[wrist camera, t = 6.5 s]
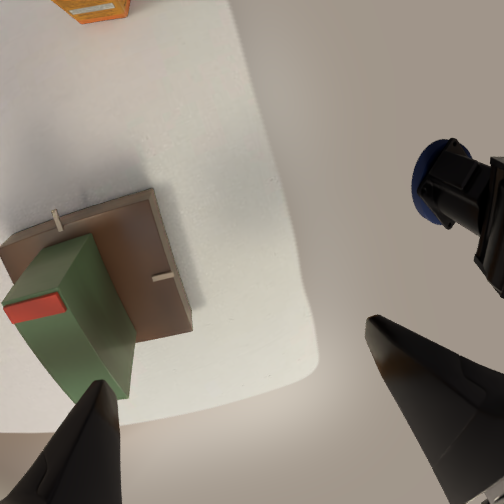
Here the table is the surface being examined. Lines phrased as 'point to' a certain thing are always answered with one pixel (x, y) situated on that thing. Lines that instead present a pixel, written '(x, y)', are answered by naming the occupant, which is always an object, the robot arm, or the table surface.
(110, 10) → the supplement box
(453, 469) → the robot arm
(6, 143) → the table surface
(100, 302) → the green box
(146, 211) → the brown rectangular platform
